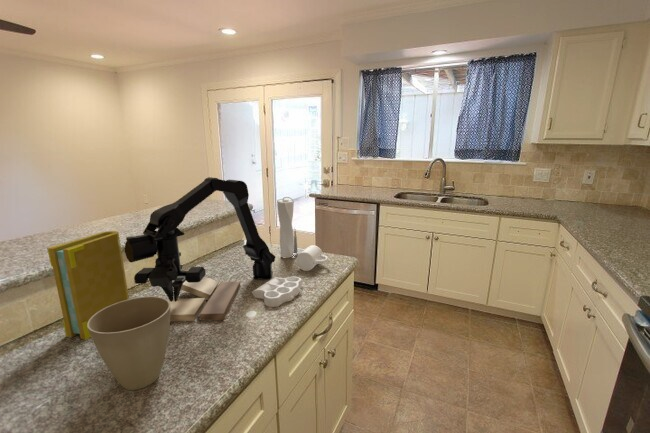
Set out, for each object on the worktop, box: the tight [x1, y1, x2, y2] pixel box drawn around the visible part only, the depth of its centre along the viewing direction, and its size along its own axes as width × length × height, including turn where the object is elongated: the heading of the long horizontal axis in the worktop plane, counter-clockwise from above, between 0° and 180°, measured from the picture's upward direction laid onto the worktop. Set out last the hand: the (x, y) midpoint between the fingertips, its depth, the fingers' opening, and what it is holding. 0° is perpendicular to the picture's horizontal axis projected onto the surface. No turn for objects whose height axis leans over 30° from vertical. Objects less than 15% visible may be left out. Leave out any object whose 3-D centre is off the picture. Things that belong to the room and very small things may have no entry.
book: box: [46, 230, 130, 341], centre depth 89 cm, size 17×7×25 cm, turn 168°
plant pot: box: [87, 295, 171, 391], centre depth 68 cm, size 15×15×16 cm
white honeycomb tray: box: [252, 276, 303, 308], centre depth 108 cm, size 3×18×15 cm
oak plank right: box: [180, 275, 220, 301], centre depth 108 cm, size 11×10×2 cm
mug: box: [295, 244, 329, 272], centre depth 131 cm, size 12×10×8 cm
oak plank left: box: [168, 297, 207, 322], centre depth 97 cm, size 11×10×2 cm
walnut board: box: [197, 280, 241, 321], centre depth 103 cm, size 8×22×2 cm, turn 3°
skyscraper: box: [276, 196, 298, 258], centre depth 142 cm, size 8×8×28 cm
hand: (174, 301), depth 96 cm, fingers closed
